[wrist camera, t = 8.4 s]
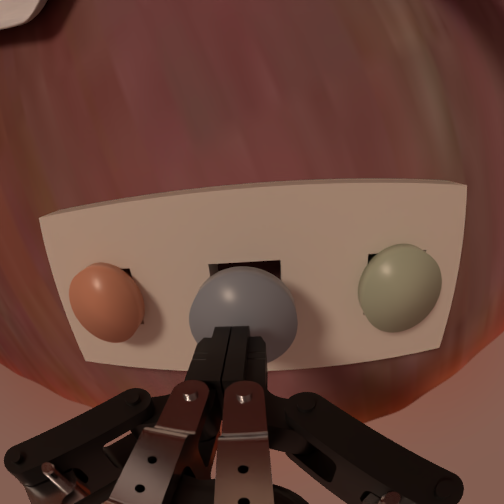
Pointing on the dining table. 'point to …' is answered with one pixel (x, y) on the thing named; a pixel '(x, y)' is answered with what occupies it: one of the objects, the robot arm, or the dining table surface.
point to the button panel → (262, 249)
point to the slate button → (246, 307)
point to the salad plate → (19, 12)
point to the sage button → (399, 287)
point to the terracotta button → (107, 302)
